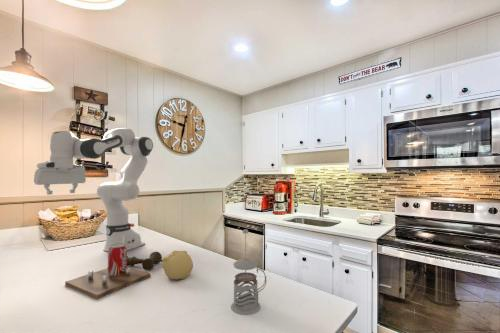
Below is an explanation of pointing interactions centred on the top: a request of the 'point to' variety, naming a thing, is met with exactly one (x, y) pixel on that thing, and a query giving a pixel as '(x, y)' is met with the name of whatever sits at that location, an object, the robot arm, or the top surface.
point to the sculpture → (177, 265)
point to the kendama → (146, 261)
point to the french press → (246, 301)
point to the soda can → (117, 259)
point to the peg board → (111, 282)
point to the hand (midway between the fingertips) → (61, 193)
